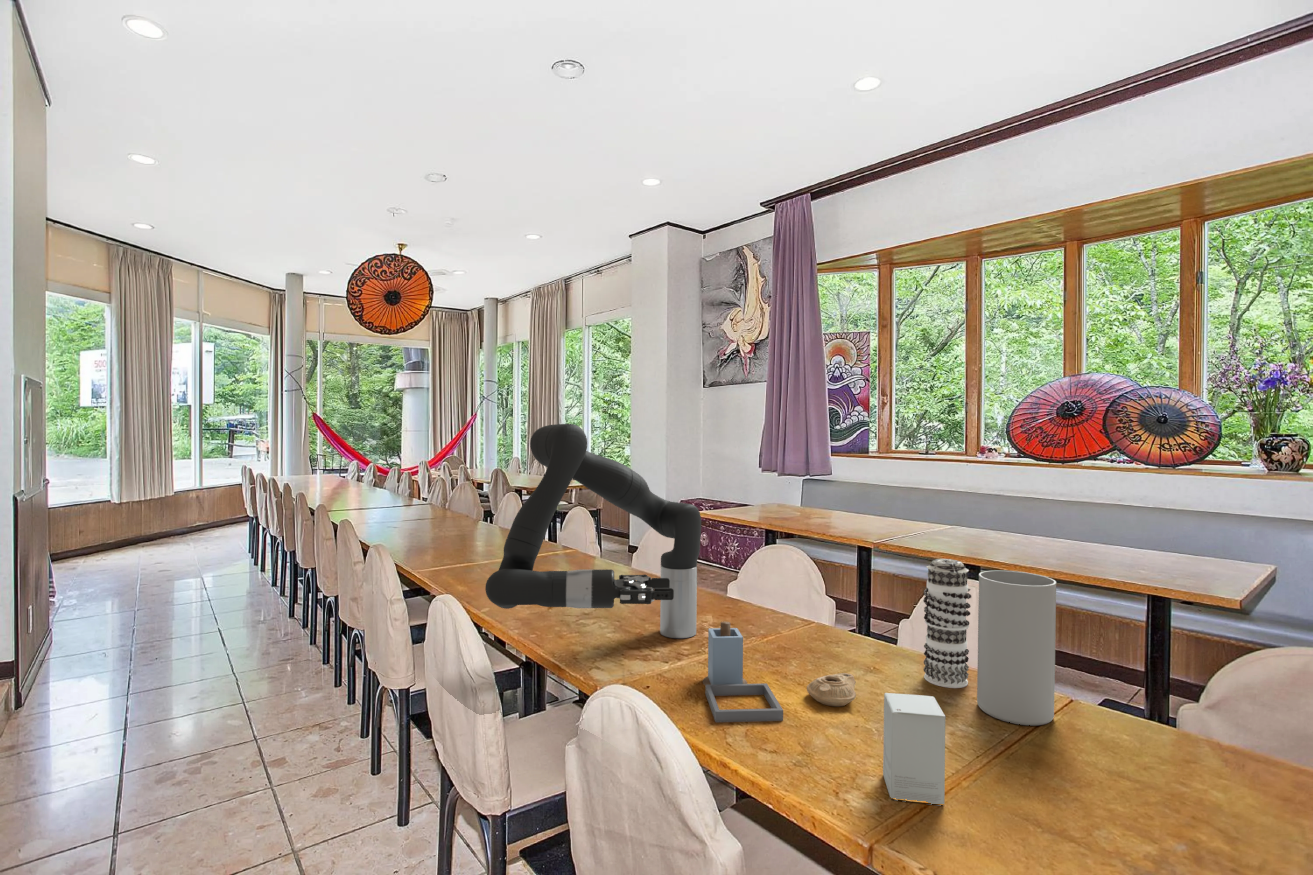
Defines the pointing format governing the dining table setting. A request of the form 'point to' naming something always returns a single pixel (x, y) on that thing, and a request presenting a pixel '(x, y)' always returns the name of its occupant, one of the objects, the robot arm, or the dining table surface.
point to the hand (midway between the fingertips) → (671, 588)
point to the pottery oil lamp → (833, 689)
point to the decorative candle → (946, 624)
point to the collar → (725, 657)
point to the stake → (723, 632)
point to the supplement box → (914, 748)
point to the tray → (743, 714)
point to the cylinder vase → (1016, 646)
